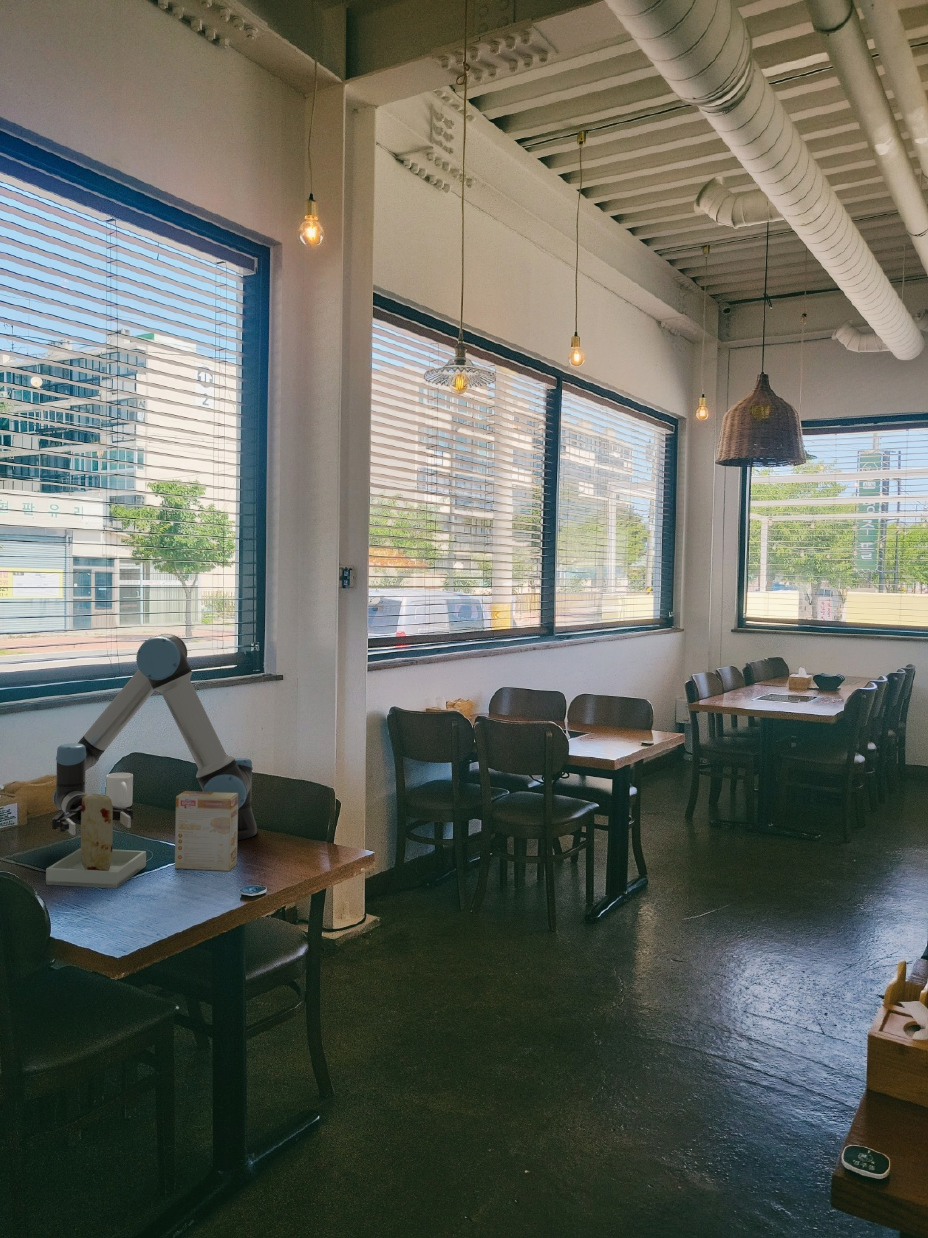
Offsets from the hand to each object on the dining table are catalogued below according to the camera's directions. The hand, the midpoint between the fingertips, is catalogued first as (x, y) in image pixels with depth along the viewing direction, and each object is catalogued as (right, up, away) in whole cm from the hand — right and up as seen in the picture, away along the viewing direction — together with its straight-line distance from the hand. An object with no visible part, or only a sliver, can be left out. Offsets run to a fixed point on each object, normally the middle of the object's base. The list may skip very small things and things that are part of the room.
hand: (102, 826), depth 237 cm
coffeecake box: (+23, -14, +13) cm, 30 cm away
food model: (-2, -12, +3) cm, 13 cm away
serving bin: (-2, -13, +3) cm, 14 cm away
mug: (-22, -10, +72) cm, 76 cm away
